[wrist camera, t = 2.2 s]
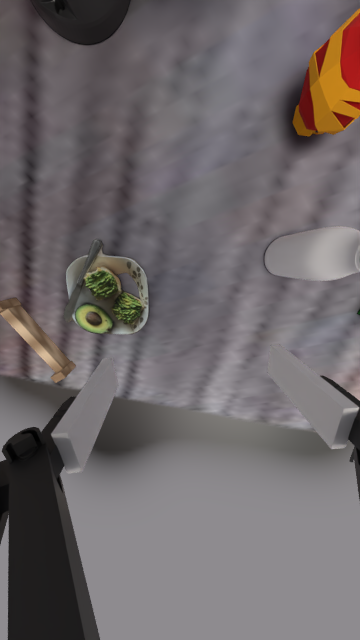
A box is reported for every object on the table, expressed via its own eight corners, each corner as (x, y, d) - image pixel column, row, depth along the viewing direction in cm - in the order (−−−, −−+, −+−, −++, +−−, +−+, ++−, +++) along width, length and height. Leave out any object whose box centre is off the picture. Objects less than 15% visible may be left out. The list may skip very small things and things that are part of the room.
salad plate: (57, 236, 34) (41, 232, 30) (151, 243, 35) (148, 241, 31) (70, 329, 40) (58, 338, 36) (149, 333, 41) (146, 342, 37)
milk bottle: (269, 282, 38) (365, 303, 19) (257, 248, 36) (353, 234, 17) (303, 264, 37) (438, 269, 19) (294, 228, 35) (437, 191, 16)
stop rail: (5, 304, 37) (-16, 309, 33) (15, 297, 37) (-5, 302, 33) (66, 370, 43) (55, 382, 39) (76, 365, 43) (65, 377, 39)
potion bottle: (274, 87, 28) (377, -86, 14) (339, 64, 28) (514, -141, 14) (281, 165, 32) (370, 87, 17) (339, 145, 31) (480, 48, 17)
